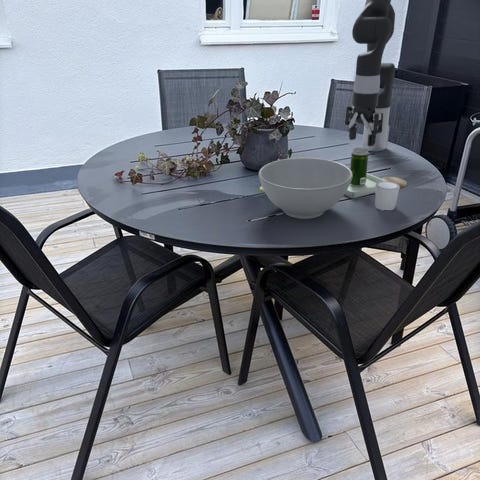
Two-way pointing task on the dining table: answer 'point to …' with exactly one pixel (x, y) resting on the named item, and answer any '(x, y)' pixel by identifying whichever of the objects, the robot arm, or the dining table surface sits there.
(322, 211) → the decorative bowl
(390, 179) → the oak coaster
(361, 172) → the beer can
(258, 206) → the dining table surface
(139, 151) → the dining table surface
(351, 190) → the tray
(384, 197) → the white cup
